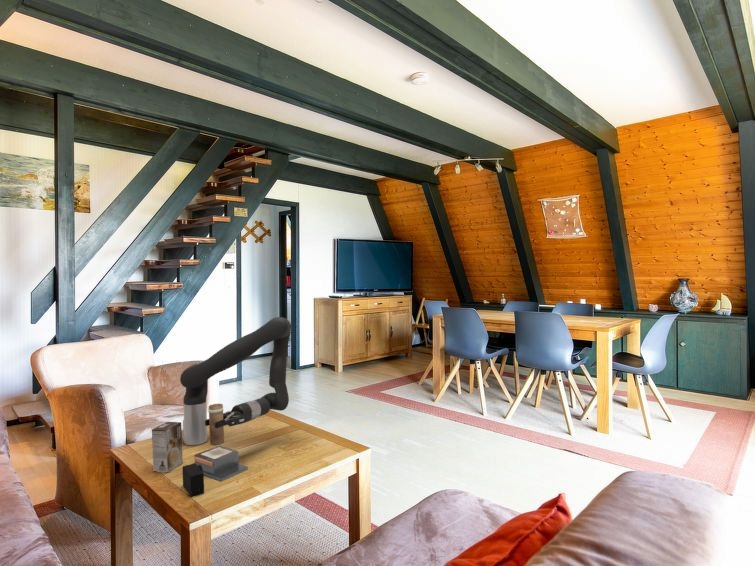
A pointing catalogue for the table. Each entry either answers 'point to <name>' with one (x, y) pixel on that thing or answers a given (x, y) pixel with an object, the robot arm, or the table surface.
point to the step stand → (219, 463)
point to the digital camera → (193, 479)
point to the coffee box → (167, 446)
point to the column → (214, 416)
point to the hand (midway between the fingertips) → (210, 424)
